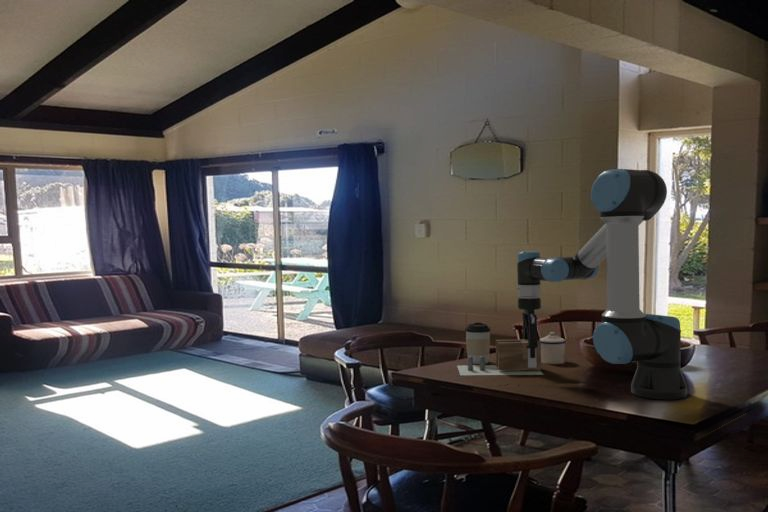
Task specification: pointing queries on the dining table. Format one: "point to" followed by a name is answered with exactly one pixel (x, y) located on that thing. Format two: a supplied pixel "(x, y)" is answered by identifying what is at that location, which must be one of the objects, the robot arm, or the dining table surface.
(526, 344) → the slotted block
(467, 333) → the coffee cup
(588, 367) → the dining table surface
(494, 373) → the board
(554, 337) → the teacup with lid
